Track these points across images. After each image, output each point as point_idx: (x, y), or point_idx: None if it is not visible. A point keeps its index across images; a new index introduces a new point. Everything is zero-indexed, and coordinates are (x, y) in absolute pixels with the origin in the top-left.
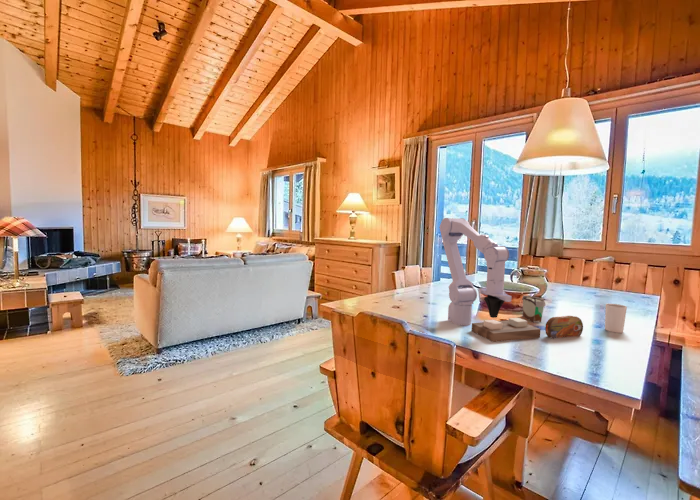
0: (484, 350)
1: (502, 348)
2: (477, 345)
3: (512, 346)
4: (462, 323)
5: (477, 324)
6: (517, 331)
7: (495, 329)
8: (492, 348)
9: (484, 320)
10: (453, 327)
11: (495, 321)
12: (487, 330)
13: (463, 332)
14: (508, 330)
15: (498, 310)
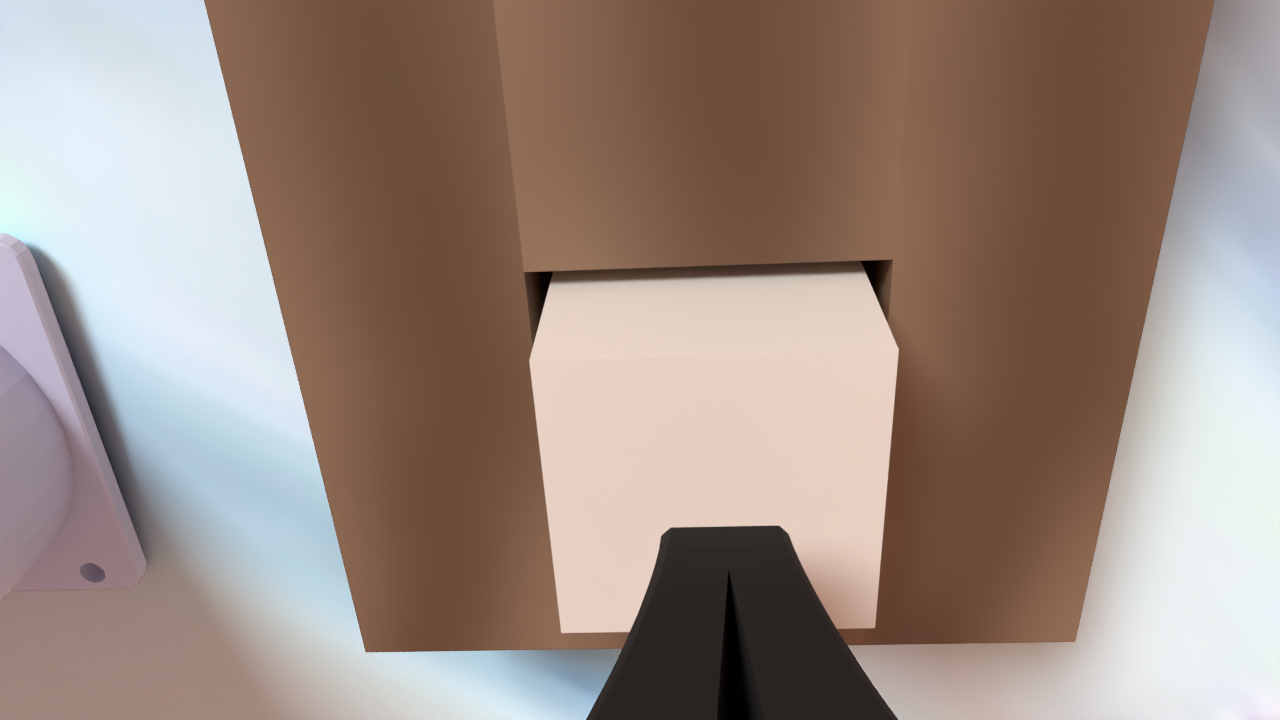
0: (1132, 711)
1: (1197, 455)
2: (938, 694)
3: (1214, 232)
4: (40, 544)
5: (468, 605)
6: (1207, 16)
7: None
8: (1124, 585)
9: (570, 626)
10: (74, 602)
11: (707, 433)
12: (884, 644)
13: (348, 588)
14: (1057, 228)
15: (861, 705)
